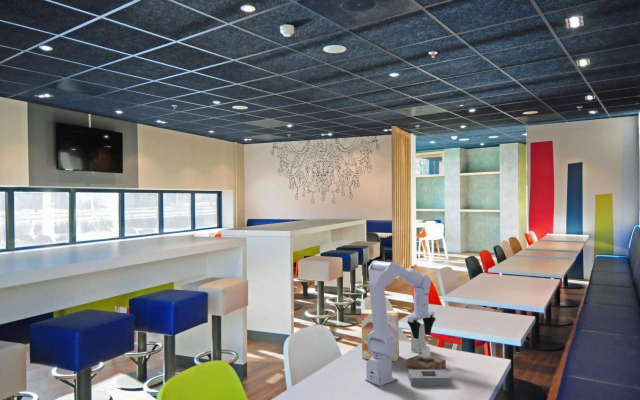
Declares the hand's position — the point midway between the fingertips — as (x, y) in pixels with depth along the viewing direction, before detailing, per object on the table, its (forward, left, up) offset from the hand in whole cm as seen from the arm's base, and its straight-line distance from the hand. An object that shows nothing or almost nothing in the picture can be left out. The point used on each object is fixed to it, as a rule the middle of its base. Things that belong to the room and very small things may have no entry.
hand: (421, 336), depth 192 cm
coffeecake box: (-9, +15, -11) cm, 21 cm away
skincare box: (+10, +10, -11) cm, 18 cm away
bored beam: (-15, -15, -10) cm, 24 cm away
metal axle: (-4, -5, -10) cm, 12 cm away
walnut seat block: (-4, -5, -10) cm, 12 cm away
